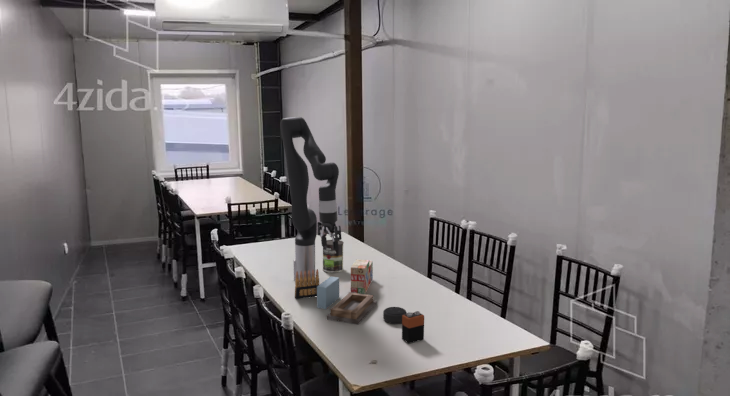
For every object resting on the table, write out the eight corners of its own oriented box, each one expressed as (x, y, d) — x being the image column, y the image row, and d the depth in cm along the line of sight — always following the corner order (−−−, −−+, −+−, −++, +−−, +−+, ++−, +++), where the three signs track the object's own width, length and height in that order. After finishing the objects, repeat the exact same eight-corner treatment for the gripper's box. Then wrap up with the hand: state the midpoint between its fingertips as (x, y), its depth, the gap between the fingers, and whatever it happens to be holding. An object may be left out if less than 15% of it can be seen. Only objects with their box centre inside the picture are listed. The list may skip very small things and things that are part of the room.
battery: (401, 339, 193) (401, 312, 191) (416, 335, 196) (417, 308, 194) (408, 344, 189) (409, 316, 187) (424, 339, 192) (425, 312, 191)
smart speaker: (399, 326, 204) (399, 316, 203) (378, 321, 209) (379, 311, 208) (410, 318, 212) (410, 309, 211) (390, 314, 216) (390, 304, 215)
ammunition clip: (295, 299, 231) (295, 271, 229) (294, 297, 233) (294, 270, 231) (320, 296, 235) (320, 269, 233) (318, 294, 237) (318, 268, 235)
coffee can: (338, 273, 266) (338, 245, 264) (319, 271, 270) (318, 243, 268) (346, 268, 276) (346, 240, 273) (328, 265, 280) (328, 238, 277)
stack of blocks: (359, 279, 259) (359, 253, 257) (372, 279, 258) (373, 254, 256) (350, 294, 238) (350, 266, 236) (364, 295, 237) (364, 267, 235)
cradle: (326, 319, 210) (326, 309, 209) (347, 300, 230) (347, 291, 230) (358, 324, 205) (358, 314, 205) (376, 304, 226) (377, 295, 225)
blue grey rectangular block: (317, 307, 222) (316, 286, 220) (330, 296, 235) (330, 276, 233) (326, 309, 221) (326, 287, 219) (339, 297, 234) (339, 277, 232)
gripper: (311, 209, 234) (313, 246, 237) (330, 213, 223) (332, 252, 226) (325, 207, 239) (327, 243, 241) (345, 211, 228) (347, 249, 230)
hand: (329, 247), depth 234 cm, fingers open, 8 cm apart
